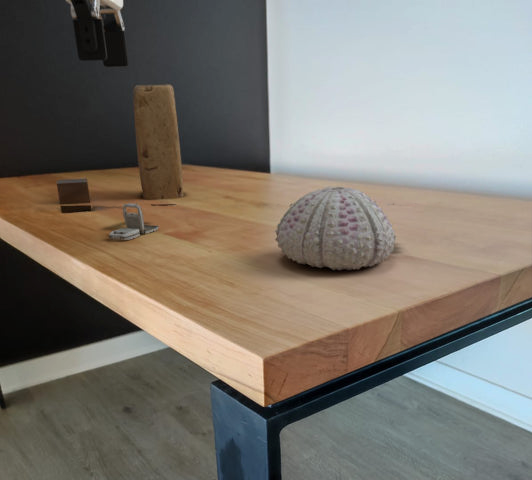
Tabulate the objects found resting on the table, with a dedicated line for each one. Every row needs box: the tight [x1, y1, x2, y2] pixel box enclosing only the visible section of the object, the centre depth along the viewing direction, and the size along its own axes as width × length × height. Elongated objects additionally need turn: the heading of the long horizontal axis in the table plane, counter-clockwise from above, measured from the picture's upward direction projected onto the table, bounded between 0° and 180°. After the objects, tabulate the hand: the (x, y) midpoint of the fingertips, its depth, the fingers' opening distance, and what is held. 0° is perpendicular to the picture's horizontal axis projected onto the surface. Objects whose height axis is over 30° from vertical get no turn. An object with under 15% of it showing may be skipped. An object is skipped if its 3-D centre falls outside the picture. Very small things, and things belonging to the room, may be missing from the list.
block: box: [132, 83, 184, 207], centre depth 98 cm, size 11×8×20 cm
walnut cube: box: [56, 178, 93, 214], centre depth 95 cm, size 5×5×5 cm
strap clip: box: [108, 203, 160, 241], centre depth 76 cm, size 8×3×4 cm, turn 157°
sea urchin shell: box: [274, 186, 397, 271], centre depth 60 cm, size 13×14×8 cm
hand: (105, 63), depth 67 cm, fingers open, 9 cm apart
